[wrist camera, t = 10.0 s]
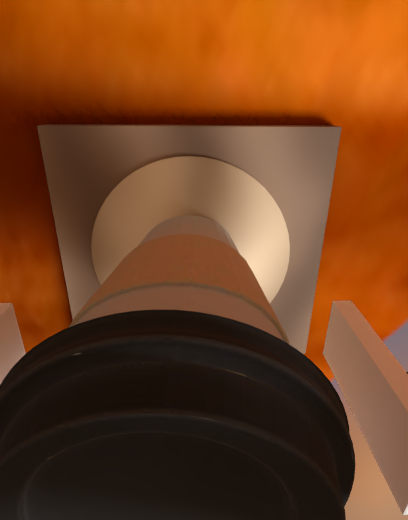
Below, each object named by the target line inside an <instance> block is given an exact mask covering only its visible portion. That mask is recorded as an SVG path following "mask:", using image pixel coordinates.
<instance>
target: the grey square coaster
mask: <svg viewBox="0 0 408 520" xmlns="http://www.w3.org/2000/svg"><path fill="white" fill-rule="evenodd" d="M37 129H38V134H39V140H40V145H41V151H42V156H43V161H44V167H45V172H46V178H47V183H48V189H49V194H50V199H51V205H52V210H53V216H54V221H55V227H56V232H57V237H58V243H59V248H60V254H61V259H62V265H63V270H64V275H65V281H66V286H67V292H68V297H69V303H70V308H71V313H72V319H74V318H75V316H76V315H77V314H78V313H79V311H80V310H81V309H82V308H83V307H84V305H85V304H86V303H87V302H88V301H89V299H90V298H91V297H92V296H93V295H94V293H95V292H96V291H97V290H98V289H99V287H100V286H101V285H102V284H103V282H104V281H105V280H106V279H107V278H108V276H109V275H110V274H111V273H112V272H113V270H114V269H115V268H116V267H117V266H118V264H119V263H120V262H121V261H122V260H123V258H124V257H126V256H127V255H128V254H129V253H130V252H131V251H132V250H133V249H134V248H136V247H137V246H138V245H139V244H140V243H141V241H142V240H143V239H144V238H145V237H146V235H147V234H148V233H149V232H150V231H151V230H152V229H153V228H154V227H155V226H156V225H158V224H159V223H161V222H163V221H165V220H167V219H170V218H173V217H178V216H184V215H187V216H200V217H205V218H208V219H211V220H213V221H215V222H217V223H218V224H220V225H221V226H222V227H223V228H224V229H225V230H226V231H227V232H228V233H229V235H230V236H231V238H232V240H233V242H234V243H235V245H236V247H237V249H238V251H239V253H240V255H241V256H242V257H243V258H244V259H245V260H246V261H247V263H248V265H249V266H250V268H251V270H252V271H253V273H254V275H255V277H256V279H257V281H258V283H259V285H260V286H261V288H262V290H263V292H264V294H265V296H266V298H267V300H268V302H269V303H270V305H271V307H272V309H273V311H274V313H275V315H276V317H277V318H278V320H279V322H280V324H281V326H282V328H283V330H284V332H285V334H286V335H287V337H288V340H289V343H290V345H291V346H292V347H294V348H295V349H297V350H298V351H300V352H301V353H305V352H306V345H307V339H308V333H309V327H310V320H311V314H312V308H313V302H314V295H315V289H316V283H317V277H318V270H319V264H320V258H321V252H322V245H323V239H324V233H325V227H326V220H327V214H328V208H329V202H330V195H331V189H332V183H333V177H334V170H335V164H336V158H337V152H338V145H339V139H340V133H341V127H339V126H334V125H137V124H43V125H37Z"/></svg>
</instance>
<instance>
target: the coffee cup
mask: <svg viewBox="0 0 408 520" xmlns="http://www.w3.org/2000/svg"><path fill="white" fill-rule="evenodd" d="M354 474H355V454H354V449H353V443H352V440H351V437H350V434H349V425H348V420H347V415H346V412H345V409H344V406H343V404H342V402H341V400H340V397H339V395H338V393H337V392H336V390H335V389H334V387H333V385H332V384H331V382H330V381H329V380H328V379H327V377H326V376H325V375H324V374H323V372H322V371H321V370H320V369H319V368H318V367H317V366H316V365H315V364H314V363H313V362H312V361H311V360H310V359H308V358H307V357H306V356H305V355H303V354H302V353H301V352H300V351H298V350H297V349H295V348H294V347H292V346H291V345H290V343H289V340H288V337H287V335H286V334H285V332H284V330H283V328H282V326H281V324H280V322H279V320H278V318H277V317H276V315H275V313H274V311H273V309H272V307H271V305H270V303H269V302H268V300H267V298H266V296H265V294H264V292H263V290H262V288H261V286H260V285H259V283H258V281H257V279H256V277H255V275H254V273H253V271H252V270H251V268H250V266H249V265H248V263H247V261H246V260H245V259H244V258H243V257H242V256H241V255H240V253H239V251H238V249H237V247H236V245H235V243H234V242H233V240H232V238H231V236H230V235H229V233H228V232H227V231H226V230H225V229H224V228H223V227H222V226H221V225H220V224H218V223H217V222H215V221H213V220H211V219H208V218H205V217H200V216H187V215H184V216H178V217H173V218H170V219H167V220H165V221H163V222H161V223H159V224H158V225H156V226H155V227H154V228H153V229H152V230H151V231H150V232H149V233H148V234H147V235H146V237H145V238H144V239H143V240H142V241H141V243H140V244H139V245H138V246H137V247H136V248H134V249H133V250H132V251H131V252H130V253H129V254H128V255H127V256H126V257H124V258H123V260H122V261H121V262H120V263H119V264H118V266H117V267H116V268H115V269H114V270H113V272H112V273H111V274H110V275H109V276H108V278H107V279H106V280H105V281H104V282H103V284H102V285H101V286H100V287H99V289H98V290H97V291H96V292H95V293H94V295H93V296H92V297H91V298H90V299H89V301H88V302H87V303H86V304H85V305H84V307H83V308H82V309H81V310H80V311H79V313H78V314H77V315H76V316H75V318H74V319H73V321H72V322H71V324H70V326H69V327H68V328H67V329H64V330H62V331H60V332H58V333H56V334H55V335H53V336H51V337H49V338H47V339H46V340H44V341H43V342H41V343H40V344H38V345H37V346H35V347H34V348H32V349H31V350H30V351H29V352H28V353H26V354H25V355H24V356H23V357H22V358H21V359H20V360H19V361H18V362H17V363H16V364H15V365H14V366H13V367H12V368H11V370H10V371H9V372H8V374H7V375H6V376H5V378H4V379H3V381H2V383H1V384H0V520H346V519H345V509H344V506H345V504H346V502H347V500H348V498H349V495H350V492H351V490H352V485H353V481H354Z"/></svg>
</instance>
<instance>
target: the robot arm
mask: <svg viewBox="0 0 408 520" xmlns="http://www.w3.org/2000/svg"><path fill="white" fill-rule="evenodd" d="M25 354H26V353H25V349H24V345H23V342H22V338H21V334H20V330H19V327H18V323H17V319H16V316H15V312H14V308H13V304H12V303H0V384H1V383H2V381H3V379H4V378H5V376H6V375H7V374H8V372H9V371H10V370H11V368H12V367H13V366H14V365H15V364H16V363H17V362H18V361H19V360H20V359H21V358H22V357H23V356H24V355H25ZM323 355H324V357H325V359H326V361H327V363H328V365H329V367H330V369H331V371H332V373H333V375H334V377H335V379H336V381H337V383H338V385H339V387H340V389H341V391H342V392H343V395H344V397H345V399H346V401H347V403H348V405H349V407H350V409H351V411H352V413H353V415H354V417H355V419H356V421H357V423H358V425H359V427H360V429H361V431H362V433H363V435H364V437H365V439H366V441H367V443H368V445H369V447H370V449H371V451H372V453H373V455H374V457H375V459H376V461H377V463H378V465H379V467H380V469H381V471H382V473H383V475H384V477H385V479H386V481H387V483H388V485H389V487H390V489H391V491H392V493H393V495H394V498H395V499H396V502H397V504H398V506H399V507H400V510H401V512H402V514H403V515H408V372H405V370H404V369H403V368H402V366H401V365H400V364H399V362H398V361H397V360H396V358H395V357H394V356H393V355H392V353H391V352H390V351H389V349H388V348H387V347H386V345H385V344H384V343H383V341H382V340H381V339H380V337H379V336H378V335H377V334H376V332H375V331H374V330H373V328H372V327H371V326H370V324H369V323H368V322H367V320H366V319H365V318H364V317H363V315H362V314H361V313H360V311H359V310H358V309H357V307H356V306H355V305H354V303H353V302H352V301H333V303H332V309H331V314H330V319H329V324H328V330H327V335H326V340H325V346H324V351H323Z"/></svg>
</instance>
